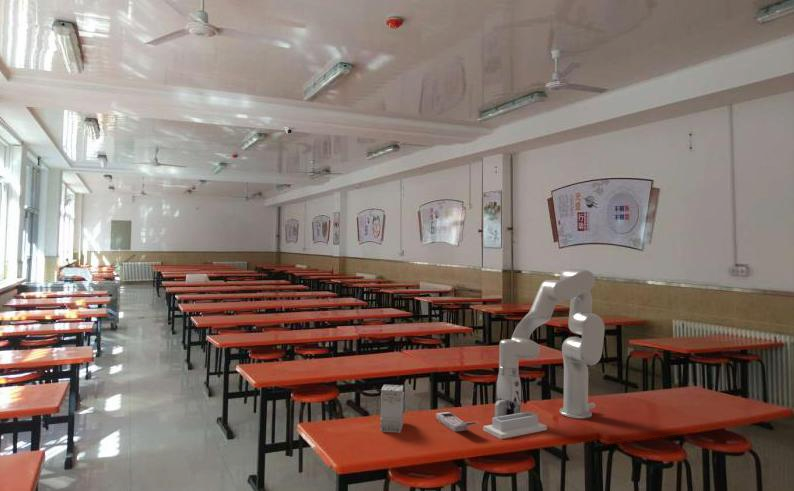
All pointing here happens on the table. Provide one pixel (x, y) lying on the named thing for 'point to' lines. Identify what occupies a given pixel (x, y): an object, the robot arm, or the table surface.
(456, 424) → the mobile phone
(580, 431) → the table surface
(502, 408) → the grey flat plate
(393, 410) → the circuit breaker
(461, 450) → the table surface
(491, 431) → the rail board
